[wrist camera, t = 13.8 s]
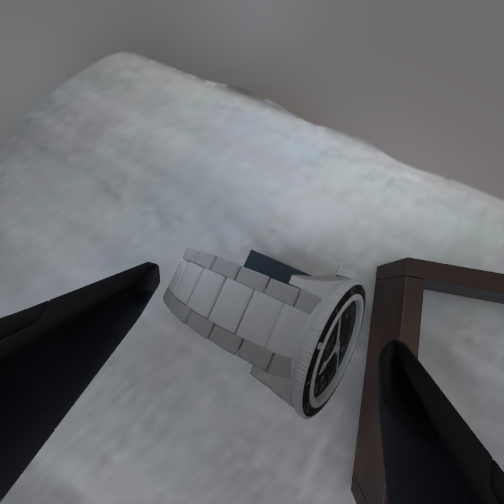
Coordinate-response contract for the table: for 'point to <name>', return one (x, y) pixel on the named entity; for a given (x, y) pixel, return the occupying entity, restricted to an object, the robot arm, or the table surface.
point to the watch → (274, 320)
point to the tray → (406, 330)
